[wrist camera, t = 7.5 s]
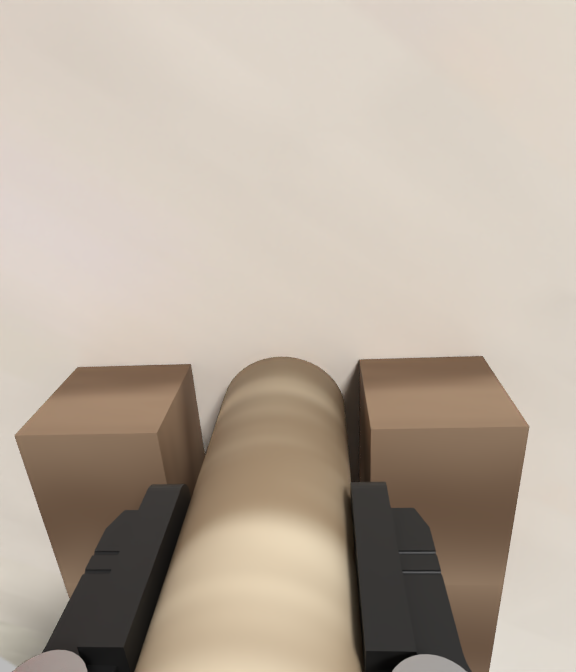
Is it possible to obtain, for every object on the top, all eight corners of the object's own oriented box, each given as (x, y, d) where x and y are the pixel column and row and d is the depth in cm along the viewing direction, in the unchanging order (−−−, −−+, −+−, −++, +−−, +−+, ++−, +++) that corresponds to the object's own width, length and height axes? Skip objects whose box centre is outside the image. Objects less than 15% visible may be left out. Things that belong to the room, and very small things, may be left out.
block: (77, 367, 15) (14, 435, 12) (482, 356, 14) (529, 426, 11) (137, 597, 19) (101, 693, 16) (455, 599, 19) (484, 701, 15)
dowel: (216, 359, 14) (-150, 1255, 3) (343, 354, 14) (441, 1324, 3) (230, 461, 15) (14, 1325, 4) (345, 459, 15) (416, 1370, 4)
